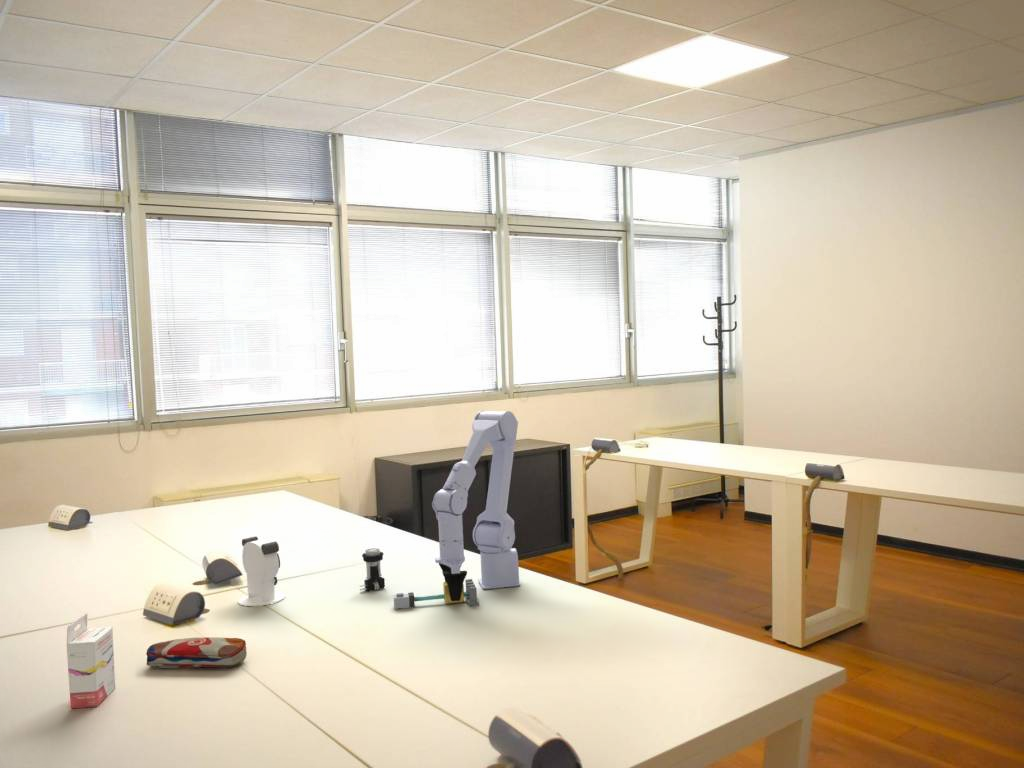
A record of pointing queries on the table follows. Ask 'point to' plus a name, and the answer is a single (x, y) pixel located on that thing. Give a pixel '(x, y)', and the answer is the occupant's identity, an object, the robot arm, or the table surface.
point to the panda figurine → (260, 572)
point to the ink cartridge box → (89, 664)
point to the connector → (401, 601)
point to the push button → (373, 570)
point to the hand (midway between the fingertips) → (453, 595)
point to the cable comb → (471, 592)
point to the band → (411, 599)
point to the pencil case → (197, 652)
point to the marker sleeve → (447, 595)
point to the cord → (433, 597)
